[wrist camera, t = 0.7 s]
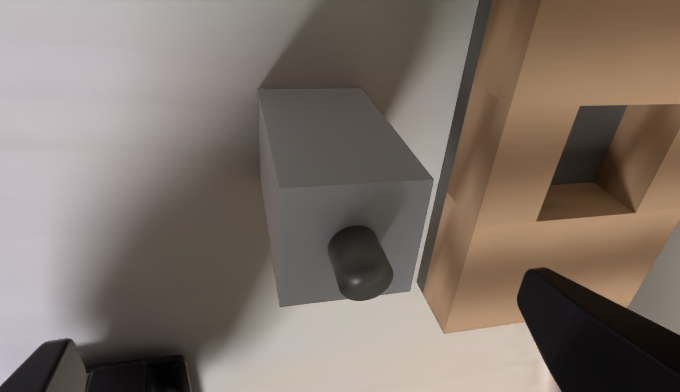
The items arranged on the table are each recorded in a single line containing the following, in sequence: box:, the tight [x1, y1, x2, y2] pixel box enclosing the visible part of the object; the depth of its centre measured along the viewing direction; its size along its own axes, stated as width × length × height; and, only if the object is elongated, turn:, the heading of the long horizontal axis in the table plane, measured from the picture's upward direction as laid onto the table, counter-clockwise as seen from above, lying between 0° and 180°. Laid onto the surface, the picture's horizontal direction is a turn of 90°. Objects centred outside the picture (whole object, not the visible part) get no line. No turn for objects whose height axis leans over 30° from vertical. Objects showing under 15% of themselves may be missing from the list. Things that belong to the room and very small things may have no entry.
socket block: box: [417, 0, 680, 334], centre depth 21 cm, size 20×12×4 cm, turn 176°
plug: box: [258, 88, 434, 307], centre depth 16 cm, size 4×4×10 cm
